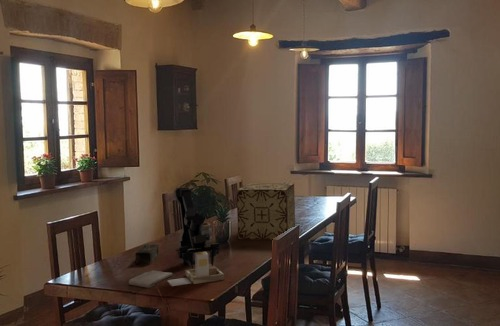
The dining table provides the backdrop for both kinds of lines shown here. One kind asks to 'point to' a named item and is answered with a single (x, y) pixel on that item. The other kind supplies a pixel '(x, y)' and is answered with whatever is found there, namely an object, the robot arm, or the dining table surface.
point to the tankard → (207, 229)
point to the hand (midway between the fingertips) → (202, 266)
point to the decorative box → (265, 210)
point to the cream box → (201, 264)
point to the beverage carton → (146, 254)
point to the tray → (204, 277)
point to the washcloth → (149, 278)
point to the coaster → (179, 281)
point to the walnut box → (212, 270)
